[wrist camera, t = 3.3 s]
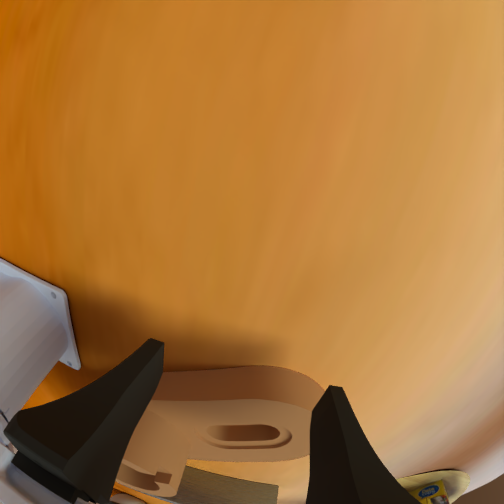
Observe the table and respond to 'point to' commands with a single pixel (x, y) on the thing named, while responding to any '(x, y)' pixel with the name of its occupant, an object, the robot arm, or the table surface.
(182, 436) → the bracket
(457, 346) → the table surface
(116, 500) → the grey white egg device
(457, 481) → the stacked boxes on plate
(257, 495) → the bar
